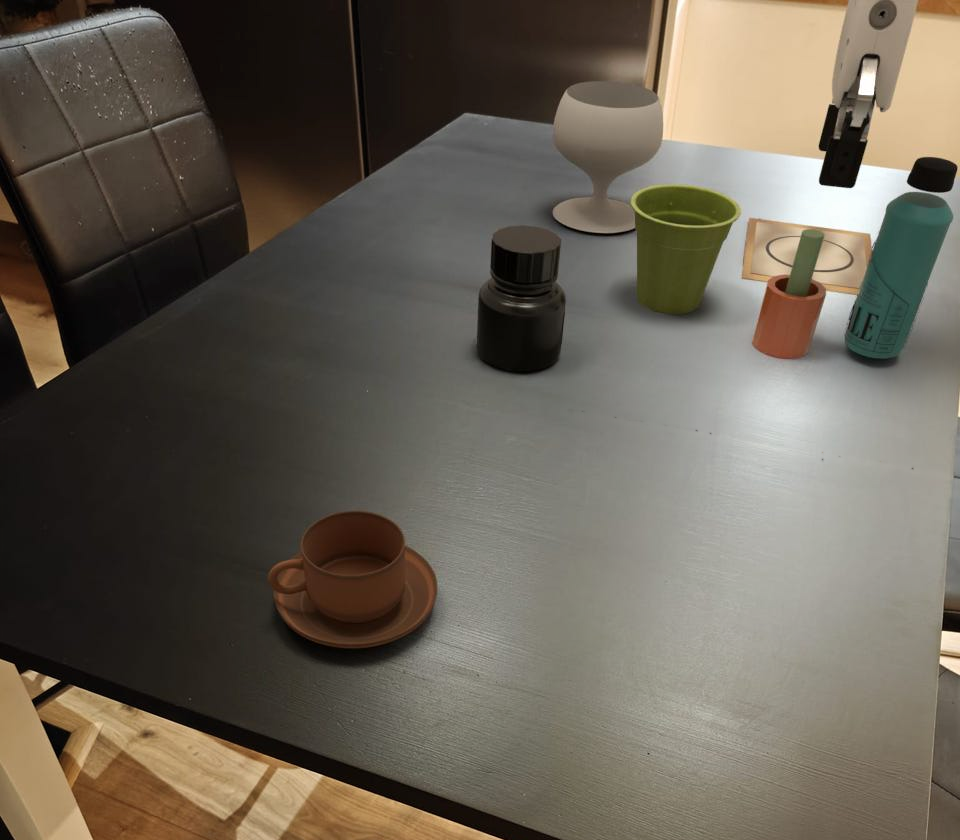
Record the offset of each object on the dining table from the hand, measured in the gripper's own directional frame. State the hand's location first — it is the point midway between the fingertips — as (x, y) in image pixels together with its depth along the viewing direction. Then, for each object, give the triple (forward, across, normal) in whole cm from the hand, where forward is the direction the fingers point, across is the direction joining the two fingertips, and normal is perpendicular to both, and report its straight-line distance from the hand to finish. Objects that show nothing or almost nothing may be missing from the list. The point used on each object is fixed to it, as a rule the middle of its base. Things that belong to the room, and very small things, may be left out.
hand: (835, 167), depth 89 cm
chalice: (+18, +30, +26) cm, 43 cm away
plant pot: (+19, +7, +14) cm, 24 cm away
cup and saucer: (+18, -52, +31) cm, 63 cm away
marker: (+18, 0, +1) cm, 18 cm away
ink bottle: (+18, -10, +28) cm, 35 cm away
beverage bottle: (+19, +1, -9) cm, 21 cm away
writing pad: (+19, +26, -2) cm, 32 cm away
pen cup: (+19, 0, +1) cm, 19 cm away
